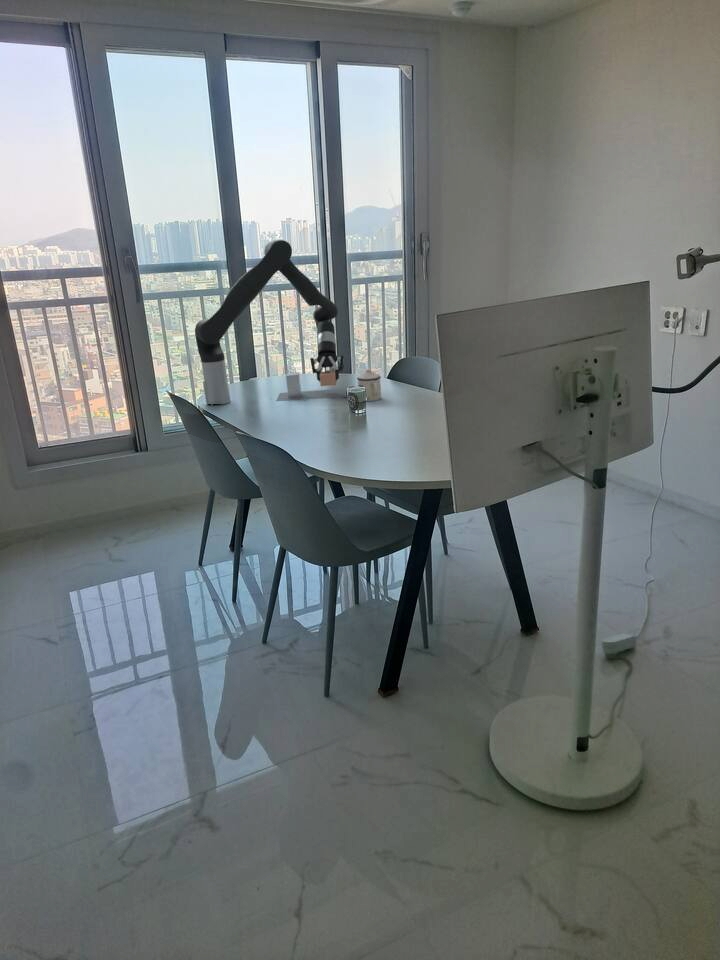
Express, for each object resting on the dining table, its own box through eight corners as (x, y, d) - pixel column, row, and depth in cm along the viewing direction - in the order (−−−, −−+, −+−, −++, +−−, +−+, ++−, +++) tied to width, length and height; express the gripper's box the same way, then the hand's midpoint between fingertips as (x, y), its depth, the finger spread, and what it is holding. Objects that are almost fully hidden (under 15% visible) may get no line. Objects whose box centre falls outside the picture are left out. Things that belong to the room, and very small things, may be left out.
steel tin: (288, 397, 266) (285, 375, 262) (289, 394, 270) (287, 373, 267) (300, 396, 265) (298, 374, 262) (301, 393, 270) (299, 372, 267)
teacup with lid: (355, 398, 259) (353, 369, 255) (376, 394, 262) (374, 365, 258) (366, 404, 249) (364, 374, 244) (388, 401, 251) (386, 370, 247)
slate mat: (276, 402, 262) (275, 401, 261) (280, 394, 275) (279, 392, 275) (346, 397, 261) (346, 396, 261) (346, 389, 274) (346, 388, 274)
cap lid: (320, 386, 263) (319, 373, 262) (321, 382, 269) (320, 369, 267) (336, 385, 263) (334, 371, 261) (336, 381, 269) (335, 368, 267)
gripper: (308, 341, 267) (309, 376, 261) (343, 338, 267) (345, 373, 260) (310, 352, 274) (311, 386, 267) (344, 349, 274) (346, 383, 267)
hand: (328, 379), depth 264 cm, fingers closed on cap lid, 6 cm apart
